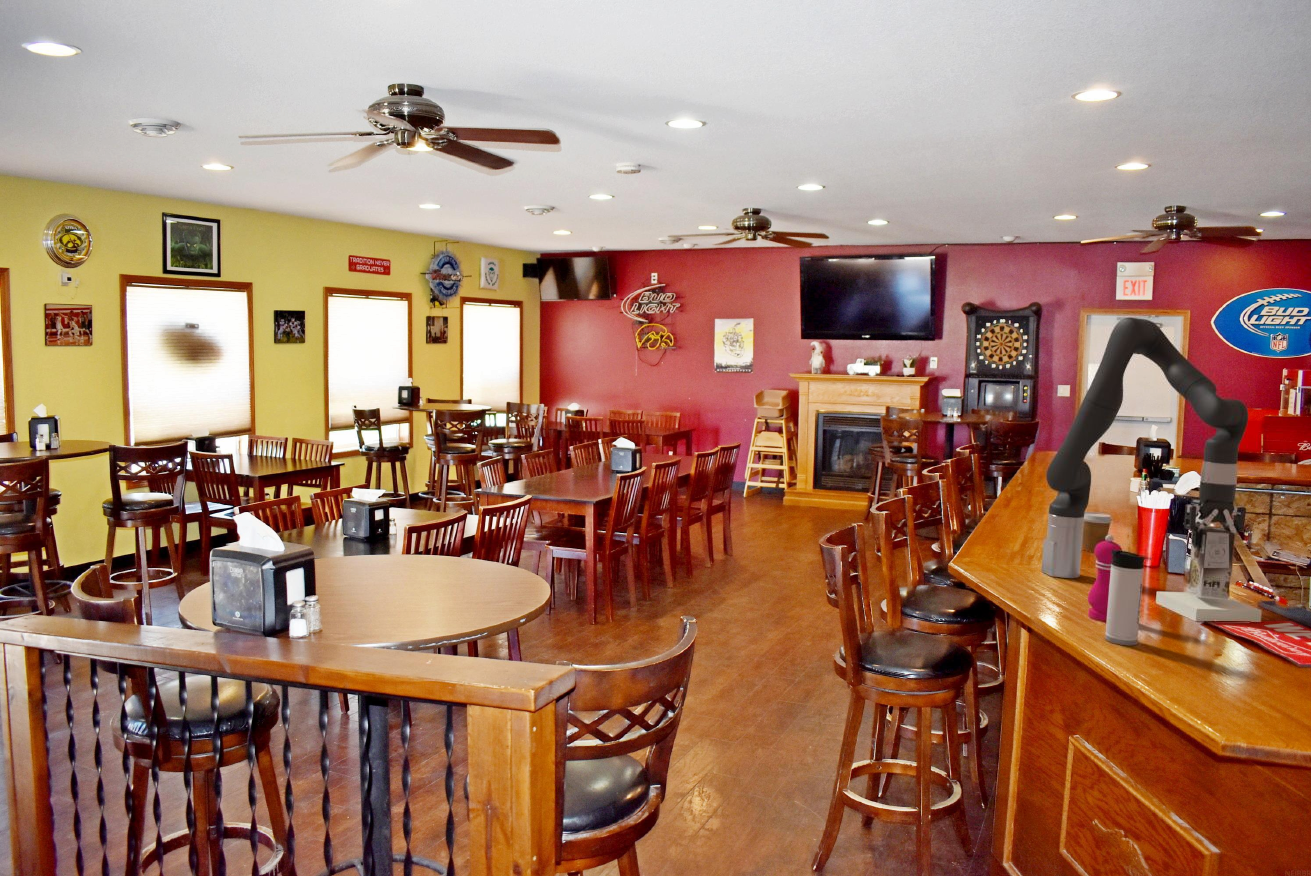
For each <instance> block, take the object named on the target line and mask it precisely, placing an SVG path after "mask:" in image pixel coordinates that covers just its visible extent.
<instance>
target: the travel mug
mask: <svg viewBox="0 0 1311 876" xmlns="http://www.w3.org/2000/svg"><path fill="white" fill-rule="evenodd" d="M1111 553H1112V564H1111V573H1110V585H1109V597H1108V609H1107V622H1106V624H1105V635H1104V637H1105V640H1106V641H1107V642H1109V643H1111V644H1115V645H1120V646H1128V647H1130V646H1135V645H1137V644H1138V641H1139V640H1138V639H1139V637H1138V636H1139V627H1140V618H1141V617H1140V616H1141V607H1142V606H1141V604H1142V593H1143V592H1142V591H1143V582H1144V570H1145V567H1144V564H1145V556H1144V555H1142V556H1141V555H1139V554H1138V553H1135V552H1130V551H1125V550H1122V551H1120V550H1112V551H1111Z"/></svg>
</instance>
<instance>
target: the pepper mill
mask: <svg viewBox="0 0 1311 876" xmlns="http://www.w3.org/2000/svg"><path fill="white" fill-rule="evenodd" d="M1114 539H1115V538H1114V536H1113V535H1111V534H1108V535H1107V536H1106V538H1105V540H1106V541H1103V542H1100V543H1098V544H1097V545H1096V547H1095V550H1094V556H1095V558H1097V559H1096V561H1095V567H1096V569H1097V573H1096V579H1095V581H1094V584H1093V585H1092V587H1091V588H1090V589H1089V593H1088V595H1087V602H1088V603H1089V605H1090V606H1091V608H1089V609H1088V617H1089V618H1090V619H1092V620H1095V621H1098V622H1099V621H1100V622H1107V609H1108V597H1109V585H1110V573H1111V564H1112V553H1111V551H1112V550H1120V551H1123V548H1122V547H1121V545H1120V544H1118V543H1117V542H1115V541H1114Z"/></svg>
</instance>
